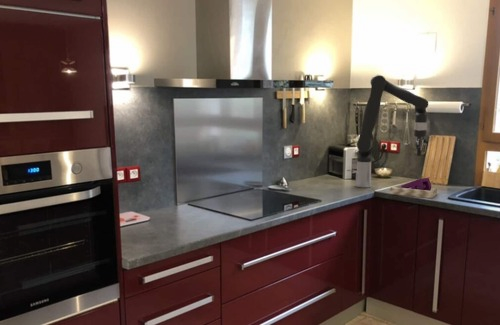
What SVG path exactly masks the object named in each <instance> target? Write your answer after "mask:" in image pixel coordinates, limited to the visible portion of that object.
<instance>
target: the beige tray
mask: <svg viewBox="0 0 500 325" xmlns="http://www.w3.org/2000/svg"><path fill="white" fill-rule="evenodd" d="M437 189H438V187H432V188H431V190H430V191H427V190H416V189H411V188H407V189H406V188H401V187H395V186H394V187H393V186H391V187H390V195H397V196H398V195H399V196H405V197H406V196H407V197H418V198H424V199H425V198H428V199H433V198H434V197H435V196H437V194H438V190H437Z"/></svg>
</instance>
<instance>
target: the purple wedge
mask: <svg viewBox="0 0 500 325" xmlns="http://www.w3.org/2000/svg"><path fill="white" fill-rule="evenodd" d="M400 188H406V189H416V190H427V191H431V190H432V184H431V180H430V178H429V177H424V178H418V179H415V180H413V181H410V182H408V183H406V184H402V185H401V186H400Z"/></svg>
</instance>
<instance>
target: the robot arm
mask: <svg viewBox="0 0 500 325" xmlns="http://www.w3.org/2000/svg"><path fill="white" fill-rule="evenodd" d="M370 86H371V88H370V93H369V98H368V99H367V103H366V105H365V108H364V112H363V118H362V121H361V122H362V124H361V130H360V133H359V136H358V139H357V141H356V142H357V143H356V147H357V149H358V152H357V153H358V154H357V161H356V162H357V163H356V172H355V187H358V188H370V187H371V185H372V184H371V180H372V178H371V177H372V158H373V141H372V136H373V132H374V129H375V128H376V127H375V126H376V124H377V121H378V119H379V115H380V108H381V103H382V102H381V101H382V96H383V93H388V94H390V95H391V96H393V97H395V98H397V99H398V100H400V101H402V102H404V103H406V104H410V105H412V106H414V113H415V118H414V128H413V129H414V130H413V131H414V132H413V136H414V137H415V138H416V140H415V147H416V154H417V156H418V157H420V156H422V150H423V146H424V138H426V137H427V128H428V127H427V126H428V124H427V123H428V122H427V121H428V116H427V113H426V112H427V111H426V110H427V108H428V107H429V100H427V99H426V98H424V97H422V96H419V95H417V94H415V93H413V92H411V91H409V90H408V89H406V88H403V87H400V86H398V85H396V84H393V83H391V82H390V81H388V80H387V79H386V77H385V76H384V75H381V74H376V75H374V76H372V77H371V79H370Z"/></svg>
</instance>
